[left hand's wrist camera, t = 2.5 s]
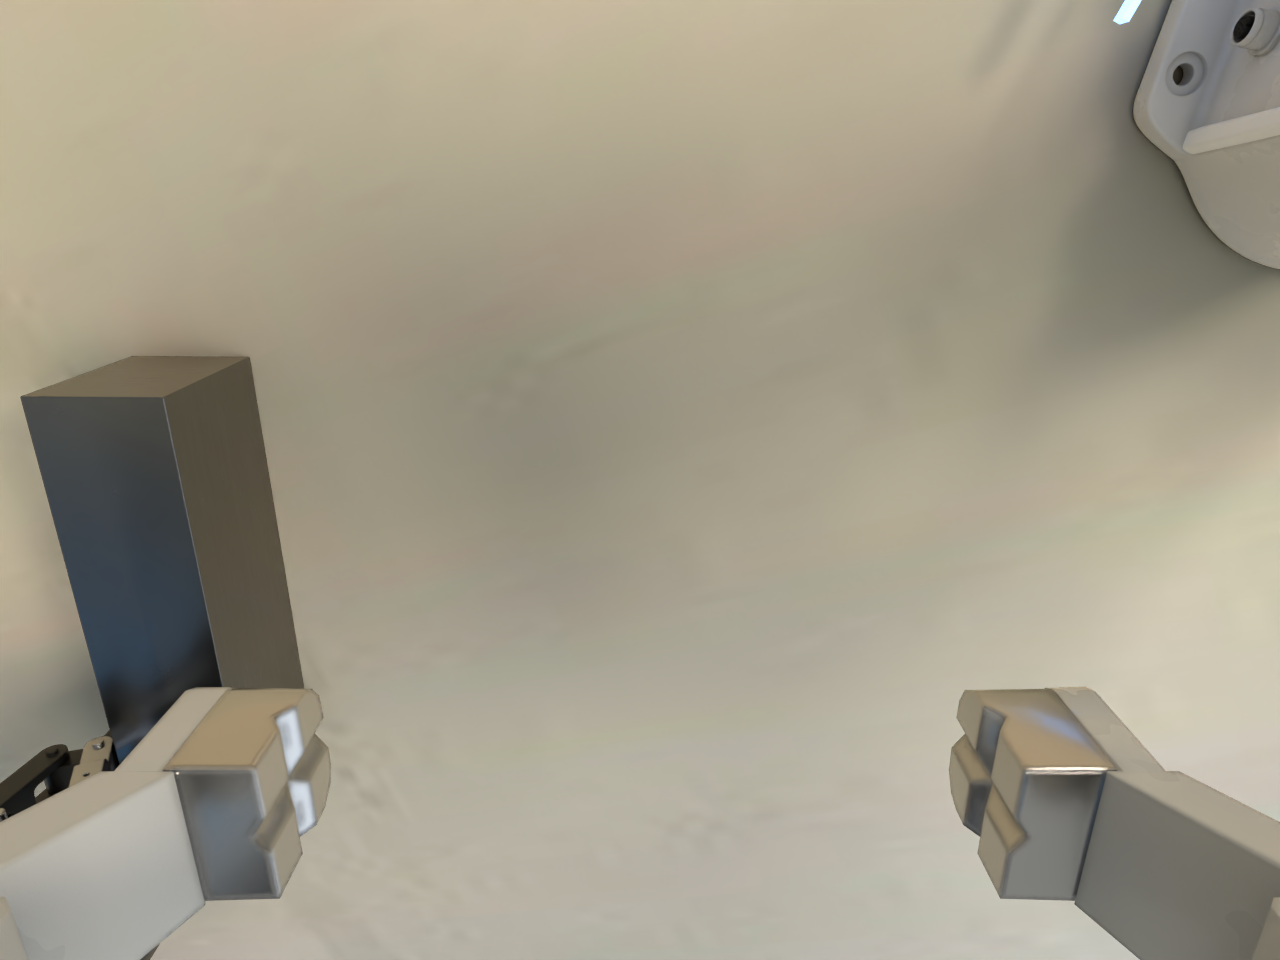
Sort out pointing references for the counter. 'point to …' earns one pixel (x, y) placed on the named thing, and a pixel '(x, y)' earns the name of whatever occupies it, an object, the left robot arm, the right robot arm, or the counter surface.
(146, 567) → the bar
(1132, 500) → the counter surface
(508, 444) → the counter surface
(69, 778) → the right robot arm
